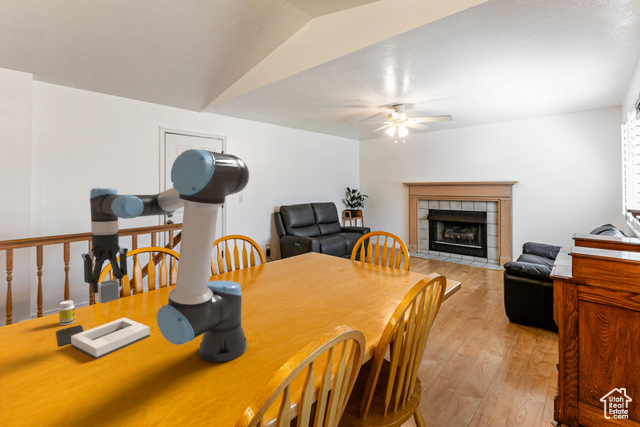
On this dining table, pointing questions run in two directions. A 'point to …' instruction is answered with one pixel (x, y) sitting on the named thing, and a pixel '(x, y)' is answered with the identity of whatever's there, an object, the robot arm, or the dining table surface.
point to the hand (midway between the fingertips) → (107, 298)
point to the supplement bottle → (66, 312)
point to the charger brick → (109, 291)
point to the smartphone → (68, 334)
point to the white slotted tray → (109, 337)
